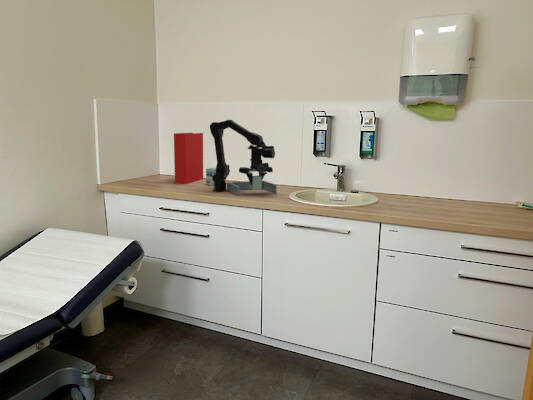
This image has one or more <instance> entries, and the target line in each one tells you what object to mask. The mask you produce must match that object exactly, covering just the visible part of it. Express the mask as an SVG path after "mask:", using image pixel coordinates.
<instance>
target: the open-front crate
mask: <svg viewBox="0 0 533 400" xmlns="http://www.w3.org/2000/svg"><path fill="white" fill-rule="evenodd" d="M277 189H278V188H277V184H276V183H272V182H269V181H266V180H262V189H261V190H265V191H267V192H270V193H273V194H277ZM255 190H256V189H251V188H250V182H249V180H248V181H247V180H245V181H230V182H229V181H228V182H226V192H229V193H232V194H234V195H235V196H238V197H239V196H241V191H255Z"/></svg>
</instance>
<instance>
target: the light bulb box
mask: <svg viewBox="0 0 533 400" xmlns="http://www.w3.org/2000/svg"><path fill="white" fill-rule="evenodd" d="M205 174H206V175H205V180H206V181H205V184H206V186H212V187H214V181H213V180H212V177H213V176H214V175H215V174H216V167H207V168H205Z"/></svg>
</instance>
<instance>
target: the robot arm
mask: <svg viewBox="0 0 533 400" xmlns="http://www.w3.org/2000/svg"><path fill="white" fill-rule="evenodd" d="M229 128H230V129H231V130H233V131H235V132H236V133H238V134H239V135H240V136H242V137H244V138H245V139H246V140H247V142H249V143H250V145H249V146H248V147H247V150H250V151H251V153H250V159H249V161H250V166H249V167H248V166H247V167H246V166H243V167H242V166H241V167H239V169H238V173H241V174H244V175H246V177H247V178H248V181H249V182H250V184H251V185H252V176H254V172H257V173H258V176H261V177H262V181H264V180H263V179H264V177H265V176H266V175H267V174H268V173H274V170H273V167H272V166H269V163H268V162H263V159H262V158H264V159H274V158H275V157H276V150H275V146H274V145H266V143H265V142H264V139H263V138H264V137H263V136H262V135H260V134H258V133H255V132H252V131H250V130H248V129H247V128H245V127H243V126H241V125H240V124H238V123H237V122H235V121H234V120H233V119H226V120H223V121H219V122H217V121H213V122H211V123H210V124H209V130H210V133H211V136H212V137H213V139H214V140H213V141H214V150H215V155H216V156H215V157H216V162H217V163H216V174H215V175H214V176H213V177H212V180H213V181H214V186H213V188H212V190H213V191H214V192H227V182H226V180H227V179H228V178H227V177H229V175H230V172H231V169H230V164H227V163H226V156H225V149H224V141H223V135H224V130H226V129H229ZM252 172H253V173H252Z"/></svg>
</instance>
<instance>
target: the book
mask: <svg viewBox="0 0 533 400" xmlns="http://www.w3.org/2000/svg"><path fill="white" fill-rule="evenodd" d="M173 155H174V157H173V158H174V163H173V164H174V184H175V185H188V184H192V183H194V182H198V181H201V180H204V133H203V132H198V133H197V132H195V133H193V132H176V133H173Z"/></svg>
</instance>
